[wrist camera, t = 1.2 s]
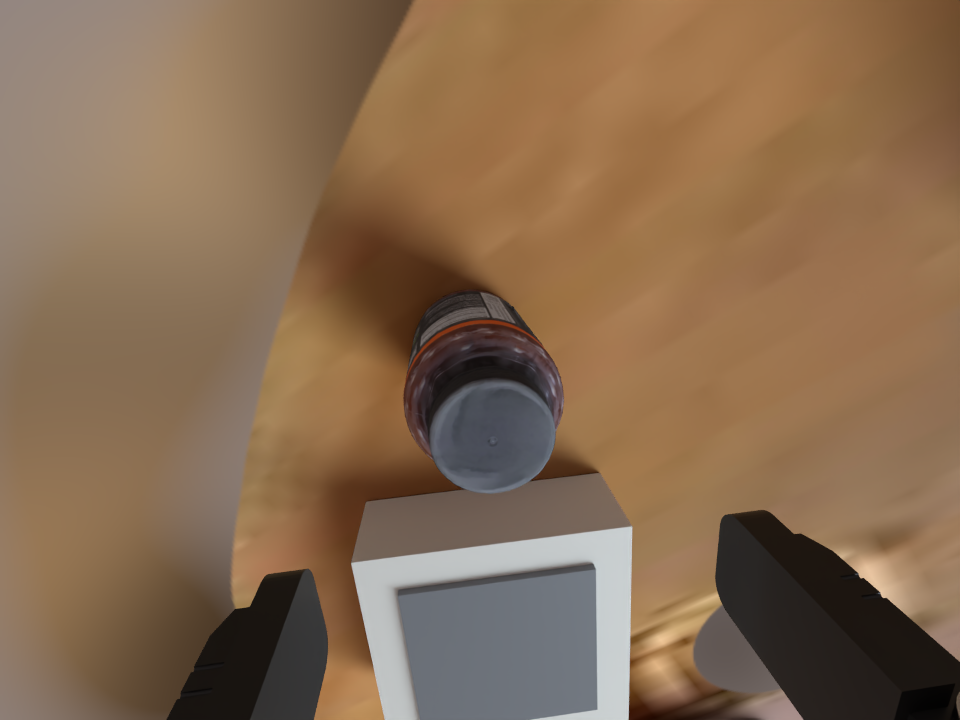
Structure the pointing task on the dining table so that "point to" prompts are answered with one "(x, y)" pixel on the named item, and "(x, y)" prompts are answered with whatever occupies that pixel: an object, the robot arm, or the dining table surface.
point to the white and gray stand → (499, 602)
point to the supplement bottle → (482, 393)
